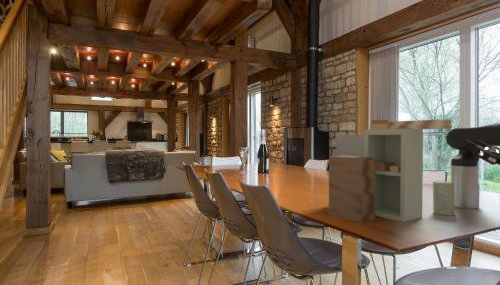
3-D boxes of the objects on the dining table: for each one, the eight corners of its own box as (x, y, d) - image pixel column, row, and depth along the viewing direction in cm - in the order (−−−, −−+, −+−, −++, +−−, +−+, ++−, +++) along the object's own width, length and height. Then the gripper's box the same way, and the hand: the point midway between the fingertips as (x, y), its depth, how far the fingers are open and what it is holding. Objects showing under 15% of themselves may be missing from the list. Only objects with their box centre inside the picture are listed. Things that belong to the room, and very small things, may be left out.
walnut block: (342, 211, 127) (343, 155, 126) (374, 219, 115) (375, 157, 115) (328, 214, 122) (329, 156, 122) (360, 222, 111) (361, 158, 110)
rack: (382, 209, 131) (382, 121, 131) (422, 217, 118) (423, 119, 118) (363, 213, 125) (364, 120, 124) (404, 222, 111) (405, 118, 111)
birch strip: (374, 129, 128) (374, 122, 128) (380, 130, 130) (380, 122, 130) (445, 128, 107) (445, 119, 106) (451, 128, 109) (451, 119, 109)
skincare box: (454, 214, 123) (455, 182, 123) (449, 216, 121) (450, 183, 120) (437, 211, 128) (437, 180, 128) (432, 212, 126) (432, 181, 125)
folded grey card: (369, 204, 141) (370, 135, 140) (373, 207, 135) (374, 135, 135) (336, 203, 142) (336, 135, 142) (338, 206, 137) (338, 135, 136)
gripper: (542, 159, 94) (485, 132, 105) (526, 161, 86) (466, 131, 97) (525, 180, 97) (472, 151, 108) (508, 184, 89) (452, 152, 100)
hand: (469, 142), depth 103 cm, fingers open, 8 cm apart
